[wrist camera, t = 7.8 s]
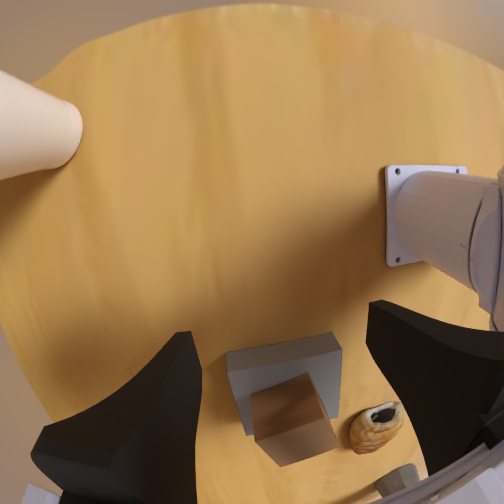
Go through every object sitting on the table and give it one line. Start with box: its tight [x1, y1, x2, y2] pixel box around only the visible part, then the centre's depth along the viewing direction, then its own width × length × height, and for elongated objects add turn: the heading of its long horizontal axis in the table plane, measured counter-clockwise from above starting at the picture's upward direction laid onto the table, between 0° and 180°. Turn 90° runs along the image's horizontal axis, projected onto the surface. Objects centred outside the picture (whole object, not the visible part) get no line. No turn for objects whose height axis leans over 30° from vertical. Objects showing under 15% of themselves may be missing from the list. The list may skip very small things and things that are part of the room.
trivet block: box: [226, 332, 342, 436], centre depth 23 cm, size 9×9×3 cm
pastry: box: [349, 401, 404, 454], centre depth 26 cm, size 9×7×4 cm
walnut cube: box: [250, 372, 339, 467], centre depth 19 cm, size 5×5×5 cm
